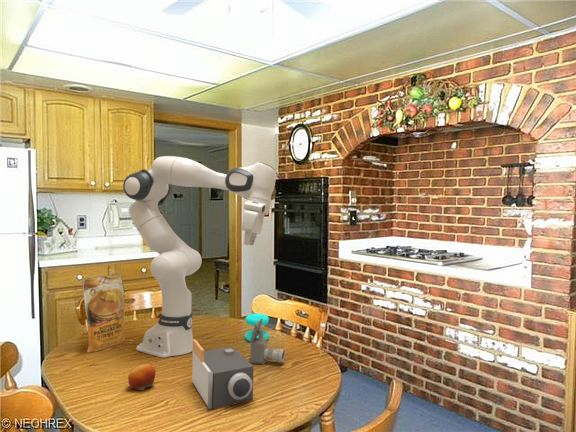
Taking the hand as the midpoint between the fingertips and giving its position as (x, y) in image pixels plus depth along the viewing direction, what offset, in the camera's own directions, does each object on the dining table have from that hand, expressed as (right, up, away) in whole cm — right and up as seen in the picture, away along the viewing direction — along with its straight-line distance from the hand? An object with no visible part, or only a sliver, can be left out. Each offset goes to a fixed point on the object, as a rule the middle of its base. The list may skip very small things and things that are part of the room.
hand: (248, 245), depth 143 cm
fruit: (-31, -43, -19) cm, 56 cm away
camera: (+7, -43, +2) cm, 44 cm away
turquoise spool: (+1, -42, +27) cm, 50 cm away
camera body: (-5, -43, -22) cm, 49 cm away
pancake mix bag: (-58, -41, +15) cm, 73 cm away
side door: (-12, -43, -24) cm, 50 cm away
